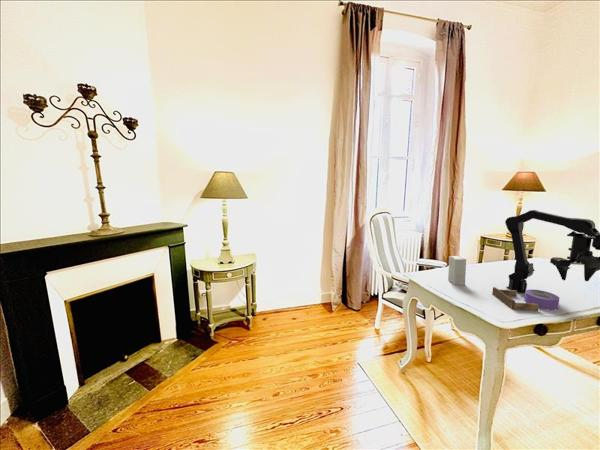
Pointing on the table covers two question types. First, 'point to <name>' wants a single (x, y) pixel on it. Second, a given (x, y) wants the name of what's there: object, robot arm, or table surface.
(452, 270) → the skincare box
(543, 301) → the tape roll
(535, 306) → the brown flat open tray
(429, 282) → the table surface
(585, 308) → the table surface
